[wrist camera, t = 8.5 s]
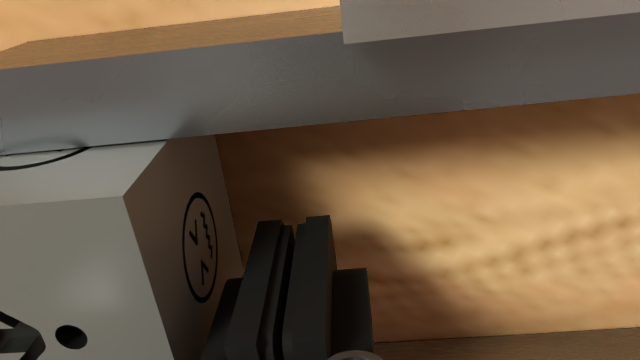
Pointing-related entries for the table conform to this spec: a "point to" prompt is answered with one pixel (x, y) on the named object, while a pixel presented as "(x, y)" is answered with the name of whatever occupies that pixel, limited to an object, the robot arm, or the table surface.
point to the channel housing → (331, 92)
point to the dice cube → (114, 250)
